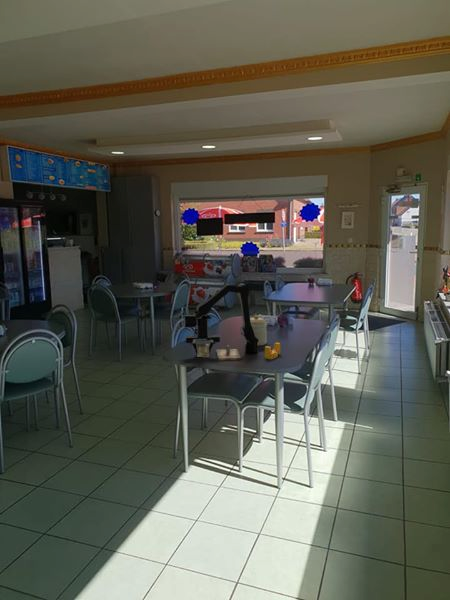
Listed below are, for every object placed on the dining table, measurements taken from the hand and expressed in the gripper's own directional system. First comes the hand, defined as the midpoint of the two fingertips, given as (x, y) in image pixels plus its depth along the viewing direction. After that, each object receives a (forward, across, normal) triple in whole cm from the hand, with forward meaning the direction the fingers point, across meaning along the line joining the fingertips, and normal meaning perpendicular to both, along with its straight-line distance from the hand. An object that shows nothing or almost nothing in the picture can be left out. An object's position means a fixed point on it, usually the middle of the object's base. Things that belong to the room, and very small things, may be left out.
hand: (202, 354), depth 260 cm
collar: (+1, 0, 0) cm, 1 cm away
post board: (+1, -14, +1) cm, 14 cm away
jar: (+1, -34, -24) cm, 42 cm away
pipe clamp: (+1, -39, +5) cm, 40 cm away
